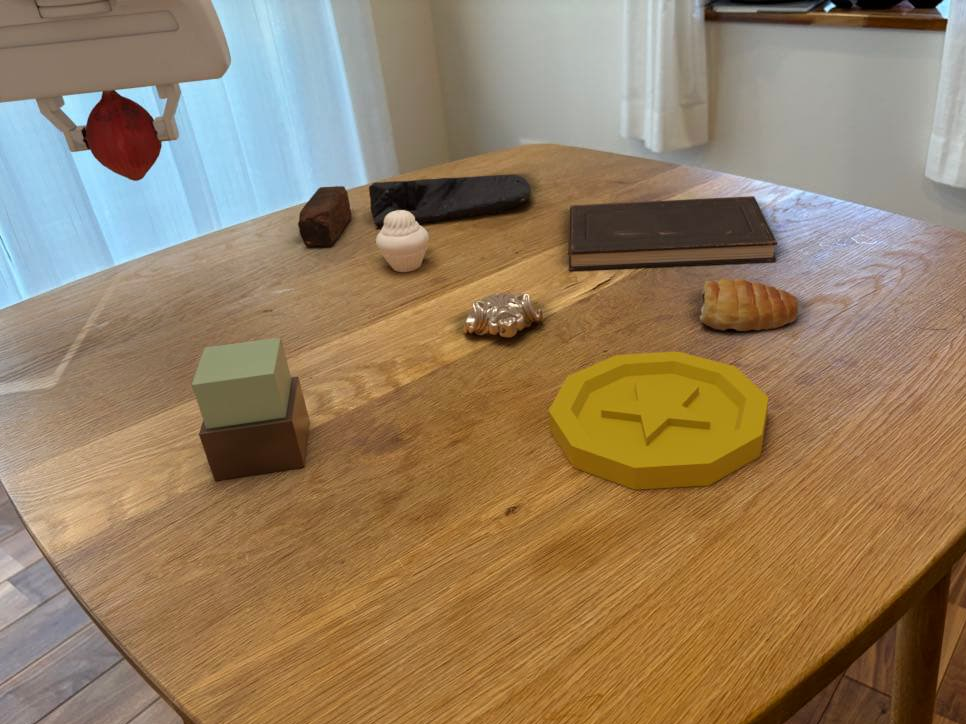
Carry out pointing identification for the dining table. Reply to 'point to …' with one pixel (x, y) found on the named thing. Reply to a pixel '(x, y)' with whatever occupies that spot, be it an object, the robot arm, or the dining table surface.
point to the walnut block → (260, 442)
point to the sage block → (242, 383)
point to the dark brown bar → (324, 216)
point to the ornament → (501, 315)
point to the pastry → (746, 305)
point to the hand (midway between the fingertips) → (126, 144)
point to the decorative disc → (659, 420)
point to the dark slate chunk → (448, 197)
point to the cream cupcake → (402, 241)
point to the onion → (122, 136)
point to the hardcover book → (669, 234)
